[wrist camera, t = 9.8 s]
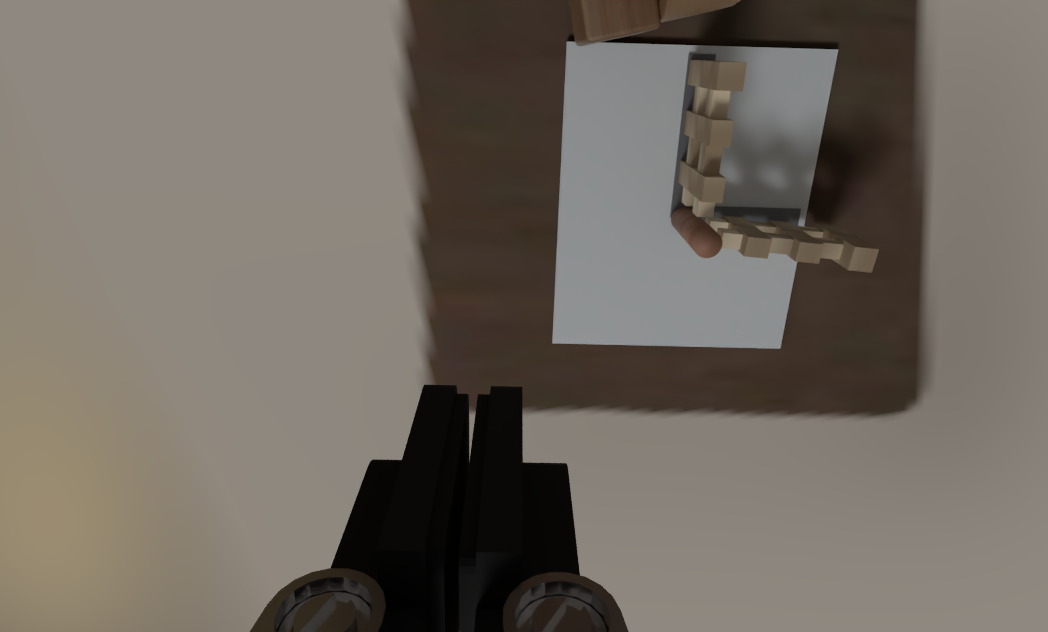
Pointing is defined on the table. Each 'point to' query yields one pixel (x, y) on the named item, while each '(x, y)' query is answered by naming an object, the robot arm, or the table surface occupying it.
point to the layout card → (678, 194)
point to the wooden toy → (631, 16)
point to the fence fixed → (708, 132)
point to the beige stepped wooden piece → (774, 240)
